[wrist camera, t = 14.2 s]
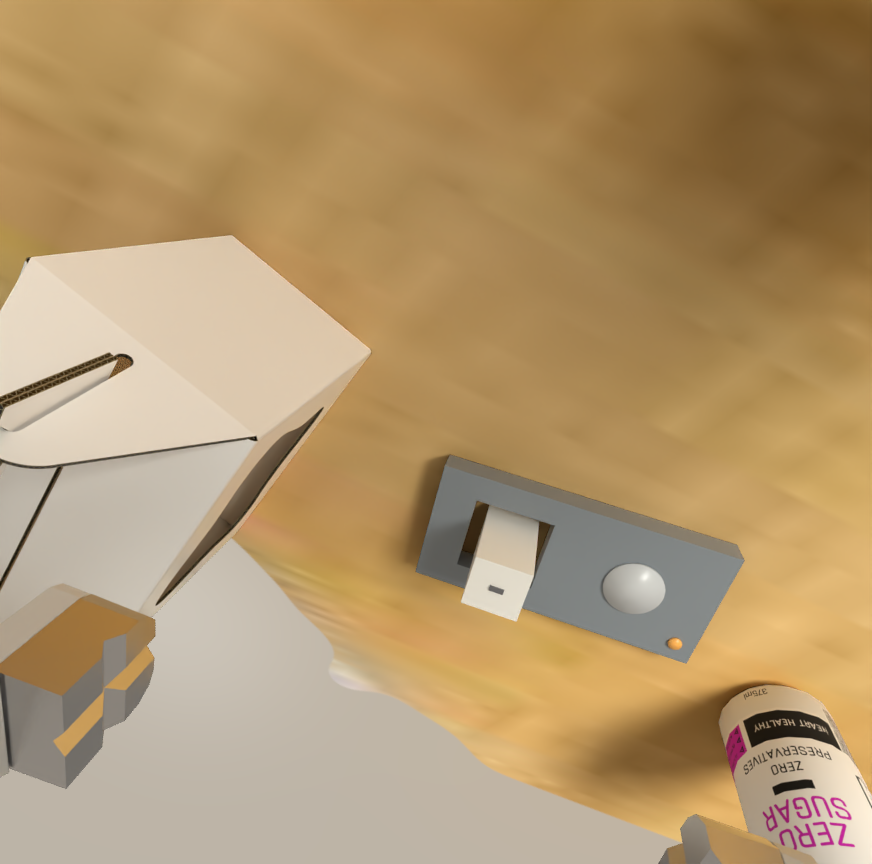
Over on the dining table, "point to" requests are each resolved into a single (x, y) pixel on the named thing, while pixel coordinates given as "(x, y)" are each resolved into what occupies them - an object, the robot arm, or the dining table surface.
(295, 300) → the gable box
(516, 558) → the block
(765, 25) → the dining table surface
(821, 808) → the supplement can
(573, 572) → the power board
